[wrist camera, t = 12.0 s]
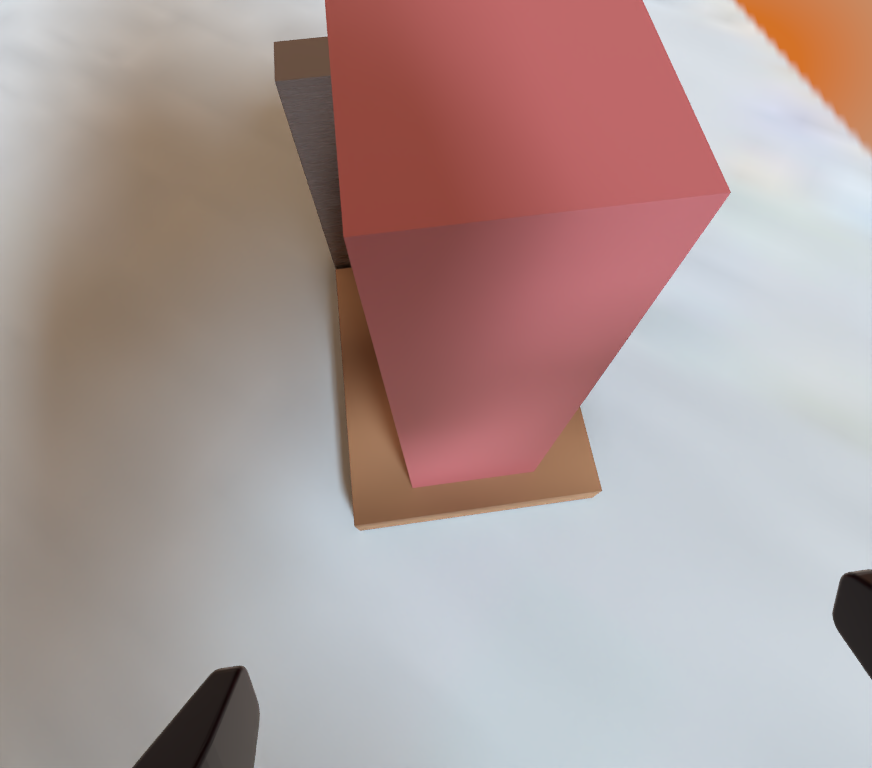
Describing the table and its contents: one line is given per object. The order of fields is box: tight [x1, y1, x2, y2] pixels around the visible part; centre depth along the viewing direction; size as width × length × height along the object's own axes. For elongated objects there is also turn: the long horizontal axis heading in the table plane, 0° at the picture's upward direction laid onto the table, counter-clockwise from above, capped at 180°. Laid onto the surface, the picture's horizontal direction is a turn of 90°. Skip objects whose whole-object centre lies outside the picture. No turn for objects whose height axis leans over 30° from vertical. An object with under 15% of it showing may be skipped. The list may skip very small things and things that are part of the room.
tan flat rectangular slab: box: [336, 268, 602, 531], centre depth 19 cm, size 10×8×1 cm
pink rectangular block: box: [325, 0, 731, 488], centre depth 12 cm, size 6×4×12 cm, turn 7°
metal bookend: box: [274, 37, 352, 269], centre depth 17 cm, size 2×8×9 cm, turn 97°
